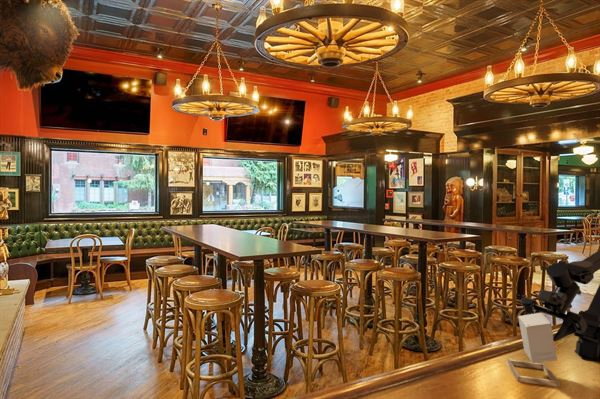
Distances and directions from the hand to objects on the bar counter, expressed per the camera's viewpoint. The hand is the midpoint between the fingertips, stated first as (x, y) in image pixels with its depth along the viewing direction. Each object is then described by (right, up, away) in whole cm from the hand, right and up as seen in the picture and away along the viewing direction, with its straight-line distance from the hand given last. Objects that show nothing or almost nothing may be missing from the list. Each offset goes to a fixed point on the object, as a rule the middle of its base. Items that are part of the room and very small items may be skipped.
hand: (538, 334), depth 129 cm
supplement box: (+1, -7, +1) cm, 7 cm away
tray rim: (-2, -13, 0) cm, 13 cm away
